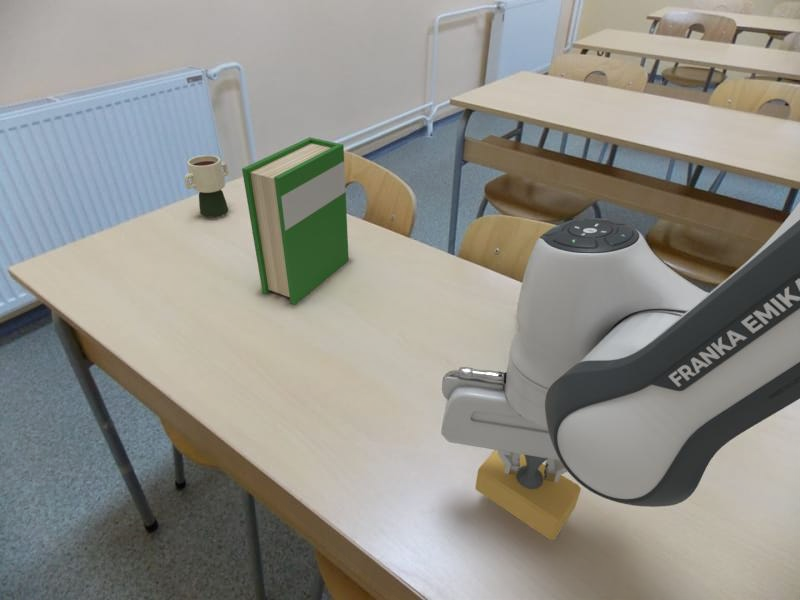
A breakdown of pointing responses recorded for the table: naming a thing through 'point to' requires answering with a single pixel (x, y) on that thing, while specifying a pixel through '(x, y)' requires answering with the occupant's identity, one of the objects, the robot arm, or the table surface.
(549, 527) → the rubber stamp
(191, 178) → the character mug
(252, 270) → the table surface
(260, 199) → the hardback book
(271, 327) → the table surface
